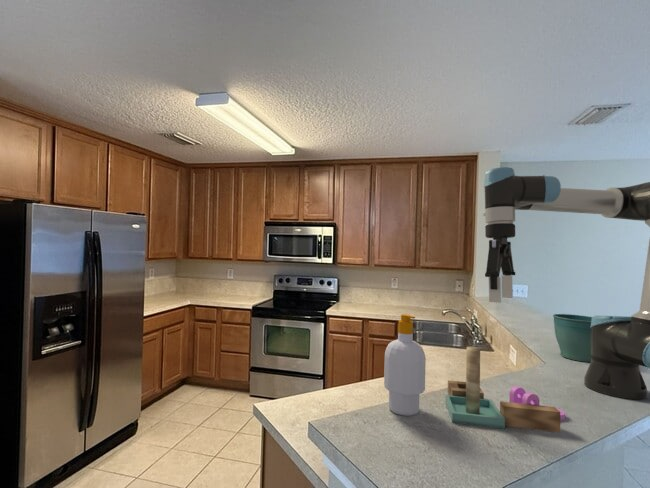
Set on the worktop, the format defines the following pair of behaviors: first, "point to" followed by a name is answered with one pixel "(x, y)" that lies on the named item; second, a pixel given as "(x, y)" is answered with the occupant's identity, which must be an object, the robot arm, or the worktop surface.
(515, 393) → the bracket
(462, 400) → the tray
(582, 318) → the flower pot
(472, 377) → the dowel
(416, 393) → the soap bottle
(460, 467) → the worktop surface
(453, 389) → the socket block
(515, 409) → the block
